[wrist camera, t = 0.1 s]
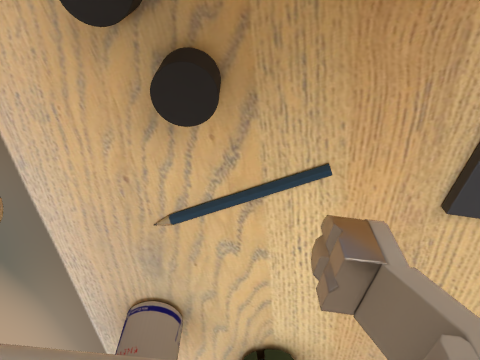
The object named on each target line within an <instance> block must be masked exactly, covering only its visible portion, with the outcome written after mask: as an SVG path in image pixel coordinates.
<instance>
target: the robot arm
mask: <svg viewBox="0 0 480 360" xmlns="http://www.w3.org/2000/svg"><path fill="white" fill-rule="evenodd" d="M2 217H3V203H2V198H1V197H0V222H1V220H2ZM321 229H322V233H323V235H322V236H320V237H319V238H317V239H316V240H315V243H314V246H313V249H312V257H311V266H312V272H313V275H314V276H315V277H316V278H317V279H318V280H319V283H318V285H317V288H316V291H317V295H318V299H319V304H320V308H321V311H328V312H336V313H343V314H350V315H354V318H355V319H356V320H357V322H358V323H359V324H360V325H361V327H362V328H363V329H364V330H365V332H366V333H367V334H368V335H369V337H370V338H371V339H372V340H373V342H374V343H375V344H376V345H377V347H378V348H379V349H380V350H381V352H382V353H383V354H384V355H385V356H386V358H387V359H388V360H480V318H479V317H477V316H476V315H475V314H473V313H472V312H471V311H470V310H468V309H467V308H466V307H465V306H463V305H462V304H461V303H459V302H458V301H457V300H456V299H454V298H453V297H452V296H450V295H449V294H448V293H447V292H445V291H444V290H443V289H442V288H440V287H439V286H438V285H436V284H435V283H434V282H433V281H431V280H430V279H429V278H427V277H426V276H425V275H424V274H422V273H421V272H420V271H419V270H417V269H416V268H411V267H409V265H408V263H407V261H406V259H405V257H404V255H403V254H402V252H401V250H400V248H399V246H398V244H397V242H396V240H395V238H394V236H393V234H392V232H391V230H390V228H389V226H388V225H387V224H386V223H385V222H384V221H376V220H367V219H365V220H361V219H354V218H346V217H339V216H331V215H327V216H326V217H325V218H324V220H323V223H322V225H321ZM0 360H166V359H155V358H145V357H134V356H124V355H113V354H103V353H92V352H82V351H81V352H80V351H71V350H60V349H50V348H39V347H29V346H18V345H7V344H0Z"/></svg>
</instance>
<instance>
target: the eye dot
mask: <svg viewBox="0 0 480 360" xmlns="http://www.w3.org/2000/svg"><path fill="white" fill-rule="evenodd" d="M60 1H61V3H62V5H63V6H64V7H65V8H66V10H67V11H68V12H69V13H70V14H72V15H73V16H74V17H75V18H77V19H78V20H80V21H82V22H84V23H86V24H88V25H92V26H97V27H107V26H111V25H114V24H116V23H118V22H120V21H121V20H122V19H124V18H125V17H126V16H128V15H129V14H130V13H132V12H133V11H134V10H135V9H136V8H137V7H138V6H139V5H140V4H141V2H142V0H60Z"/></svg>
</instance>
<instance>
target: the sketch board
mask: <svg viewBox="0 0 480 360" xmlns="http://www.w3.org/2000/svg"><path fill="white" fill-rule="evenodd" d="M441 207H442V208H443V210H444V211H445V212H446V214H451V215H458V216H465V217H472V218H479V219H480V143H479V144H478V146H477V148H476V149H475V151H474V153H473V154H472V156H471V158H470V159H469V161H468V163H467V164H466V166H465V168H464V169H463V171H462V173H461V174H460V176H459V178H458V179H457V181H456V183H455V184H454V186H453V188H452V189H451V191H450V193H449V194H448V196H447V198H446V199H445V201H444V203H443V204H442V206H441Z"/></svg>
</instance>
